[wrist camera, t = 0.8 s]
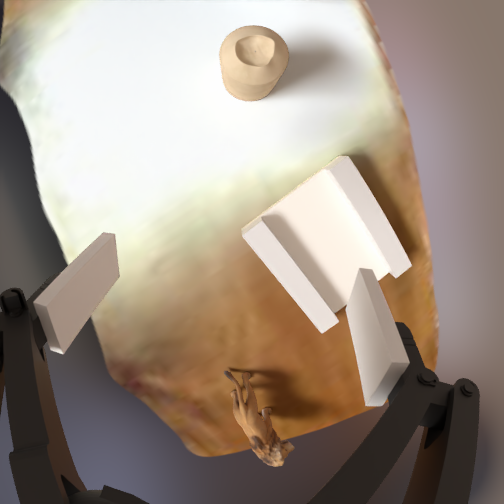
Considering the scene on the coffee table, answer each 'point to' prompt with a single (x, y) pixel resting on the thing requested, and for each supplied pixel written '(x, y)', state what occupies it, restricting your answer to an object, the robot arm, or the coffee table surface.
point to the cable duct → (326, 240)
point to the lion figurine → (258, 425)
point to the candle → (252, 62)
